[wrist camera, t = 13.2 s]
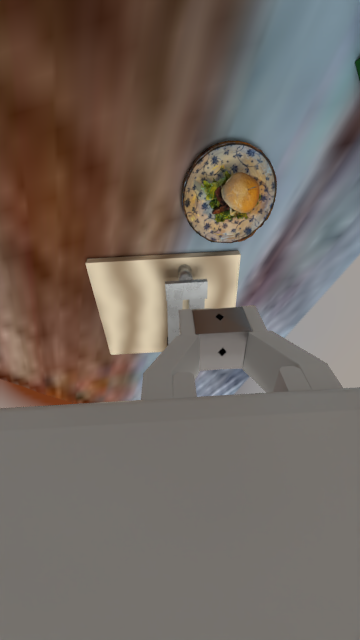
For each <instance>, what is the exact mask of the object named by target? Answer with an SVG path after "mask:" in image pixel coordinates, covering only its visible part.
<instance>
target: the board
mask: <svg viewBox="0 0 360 640" xmlns="http://www.w3.org/2000/svg"><path fill="white" fill-rule="evenodd" d="M240 255H241V254H240V253H239V251H220V252H202V253H184V254H166V255H148V256H130V257H112V258H94V259H88V260H87V261H86V263H85V264H86V267H87V271H88V275H89V278H90V282H91V285H92V289H93V292H94V296H95V300H96V303H97V307H98V310H99V314H100V318H101V321H102V325H103V328H104V332H105V335H106V339H107V343H108V346H109V350H110V353H111V355H114V354H131V353H149V352H163V351H164V350H165V348H166V347H167V337H168V313H167V301H166V290H165V281H178V268H179V267H180V266H181V265H183V264H187V265H189V266H190V267H191V270H192V276H193V280H196V279H207V281H208V288H207V299H205V308H231V307H235V305H236V295H237V285H238V275H239V265H240ZM182 309H189V306H188V300H183V306H182Z"/></svg>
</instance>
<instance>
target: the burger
mask: <svg viewBox="0 0 360 640" xmlns="http://www.w3.org/2000/svg"><path fill="white" fill-rule="evenodd" d="M193 162H194V163H193V165H194V166H193V165H192V166H191V167H190V169H189V170H191V171H190V173H189V171H188V172H187V173H186V176H185V178H184V181H183V186H182V208H183V212H184V214H185V216H186V218H187V220H188V222H189V224H190V226H191V227H192V228H193V229H194V230H195V232H196V233H198V234H199V235H200V236H202V237H204V238H205V239H207V240H208V241H211V242H221V243H233V242H241V241H243V240H246V239H247V238H249V237H251V236H252V235H253V234H254V233H255V231H256V230H257V229H258V228H259V227H261V226H262V225H263V224H264V222H265V221H266V220H267V219H268V217H269V215H270V213H271V211H272V209H273V205H274V202H275V197H276V189H277V188H276V187H277V183H276V182H277V181H276V175H275V172H274V170H273V167H272V165H271V163H270V161H269V159H268V158H267V157H266V156H265V155H264V153H263V152H262V151H261V150H260V149H257V148H256V147H254V146H252V145H250V144H248V143H245V142H241V141H225V142H221V143H217V144H215V145H213V146H211V147H209V148H207V149H206V150H205V151H203V152H202V153H201V154H200V155H199V156H198V157H197V158H196V159H195V160H194V161H193Z"/></svg>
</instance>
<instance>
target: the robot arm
mask: <svg viewBox="0 0 360 640" xmlns="http://www.w3.org/2000/svg"><path fill="white" fill-rule="evenodd" d="M179 332H180V336H176V337H175V338H174V339H173V341H172V342H171V343H170V344H169V345H168V346H167V347H166V348H165V350H164V351H163V352H162V353H161V354H160V355H159V356H158V358H157V359H156V360H155V361H154V362H153V363H152V364H151V365H150V367H149V368H148V369H147V370H146V371H145V372H144V373H143V384H142V394H141V400H136V401H119V402H102V403H85V404H69V405H52V406H51V405H50V406H34V407H17V408H0V640H360V388H343V387H342V385H341V384H340V382H339V381H338V379H337V378H336V376H335V375H334V373H333V372H332V370H331V369H330V367H329V366H328V364H327V363H325V362H323V361H322V360H320V359H319V358H317V357H315V356H313V355H312V354H310V353H308V352H307V351H305V350H303V349H301V348H300V347H298V346H296V345H294V344H293V343H291V342H290V341H288V340H286V339H285V338H283V337H281V336H280V335H278V334H276V333H274V332H273V331H267V329H266V327H265V325H264V322H263V320H262V318H261V316H260V314H259V312H258V310H257V308H256V307H255V306H254V305H253V306H241V307H231V308H205V309H192V310H191V309H180V310H179ZM242 368H243V370H244V371H245V372H246V373H247V374H248V375H249V376H250V377H251V378H252V379H253V380H254V381H255V382H256V383H257V384H258V385H259V386H260V387H261V388H262V389H263V390H264V391H265V392H266V393H255V394H238V395H221V396H204V397H197V396H196V388H195V379H196V377H197V375H198V374H199V371H204V370H216V369H242Z"/></svg>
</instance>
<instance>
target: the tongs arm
mask: <svg viewBox="0 0 360 640" xmlns="http://www.w3.org/2000/svg"><path fill="white" fill-rule="evenodd" d="M182 306H183V300H173V301H167V313H168V337H167V346H168V345H169V344H170V343H171V342H172V341H173V339H174V338H175V337H176V336H180V332H179V310H180V309H182Z"/></svg>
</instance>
